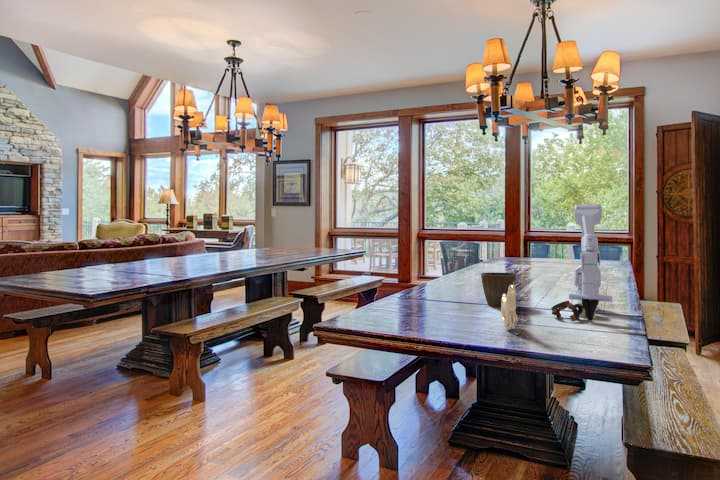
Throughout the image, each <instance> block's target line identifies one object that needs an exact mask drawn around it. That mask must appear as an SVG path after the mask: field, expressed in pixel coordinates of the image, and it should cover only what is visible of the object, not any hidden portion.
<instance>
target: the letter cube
mask: <svg viewBox="0 0 720 480" xmlns="http://www.w3.org/2000/svg"><path fill="white" fill-rule="evenodd" d="M577 304H580V305H581V306H582V307H583V312H582V313H581V314H580V315H579V318H585V319H586V318H587V314H586V311H585V308H584V306H583V304H582V302H579V303H578V302H577ZM587 319H588V318H587ZM593 319H596V311H595V312H594V316H593Z"/></svg>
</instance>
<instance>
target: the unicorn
mask: <svg viewBox="0 0 720 480" xmlns="http://www.w3.org/2000/svg"><path fill="white" fill-rule="evenodd" d="M516 286H517V285H516V283H515V285H514V281H513V285H509V288H508V293H507V295H506V294H503V296H502V299H501V301H502V302H501V308H500V312H501V318H502V320H503V322H504V325H503V327H504V328H505V329H506V328H512V327H513V328H515V327H516V326H517V324H518V315H517V312H516V310H517V297H516V295H517V289H516ZM512 319H513V320H512Z"/></svg>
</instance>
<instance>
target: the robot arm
mask: <svg viewBox="0 0 720 480" xmlns="http://www.w3.org/2000/svg"><path fill="white" fill-rule="evenodd" d="M602 208H603V207H602V204H600V203H598V204H575V205H574V222H575V224H576V225H578V226H580V228H581V238H580V240H581V241H580V244H581V246H580V247H581V252H580V257H579V258H580V259H579V260H580V265H578V266H577V267H576V268H575V269H574V286H575V287H576V288H577V293H569V294H568V300H576V301H577V304H578V303H579V302H582V304H583V306H584V308H585V311H586V314H587V321H592V322H593V320H594V318H593V316H594V312H595V313H596V312H597V311H599V310H601V307H599V303H600V302H607V303H613V296H611V295H602V294H600V289H599V288H601V285H602V279H601V276H602V274H601V270H600V266H601V252H600V248H599V239H598V237H597V235H595V226H596V225H600V223H601V220H602V217H603V216H602V215H603V214H602V213H603V212H602V211H603V209H602ZM577 310H578V308H577Z"/></svg>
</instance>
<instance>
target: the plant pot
mask: <svg viewBox="0 0 720 480" xmlns="http://www.w3.org/2000/svg"><path fill="white" fill-rule="evenodd" d="M480 276H481V283H482V289H483V293H484V298H485V300H486V303H487V306H488V307H490V306H491V307H493V308H500V309H501V302H502V301H501V299H502V296H503V294H506V295H507V293H508V288H509V285H513V281H514V285H515V284H516V280H517V273H512V272H481V273H480ZM491 307H490V308H491Z"/></svg>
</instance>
